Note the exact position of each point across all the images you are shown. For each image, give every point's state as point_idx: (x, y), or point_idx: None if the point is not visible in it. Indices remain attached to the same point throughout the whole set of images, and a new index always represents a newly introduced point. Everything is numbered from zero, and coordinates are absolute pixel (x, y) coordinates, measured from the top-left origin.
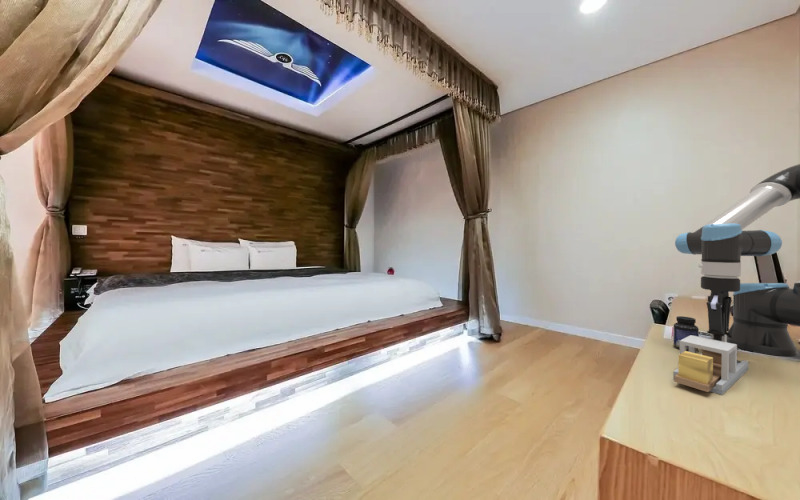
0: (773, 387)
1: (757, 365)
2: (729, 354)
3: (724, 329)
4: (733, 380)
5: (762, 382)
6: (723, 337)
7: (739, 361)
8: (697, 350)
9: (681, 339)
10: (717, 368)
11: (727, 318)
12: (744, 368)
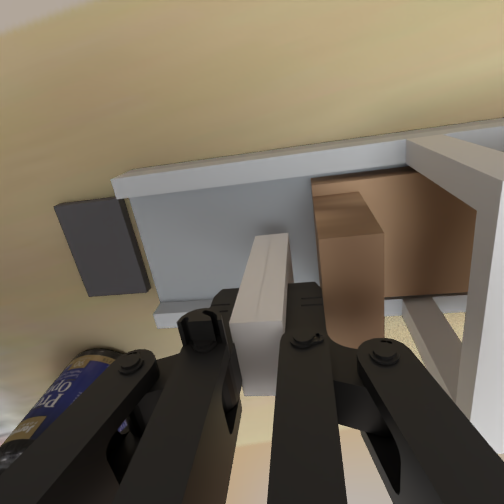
0: (314, 8)
1: (20, 171)
2: (331, 217)
3: (278, 378)
4: (468, 125)
5: (280, 66)
6: (283, 320)
7: (73, 220)
8: (99, 351)
9: (126, 425)
10: (463, 204)
11: (44, 501)
12: (206, 163)
